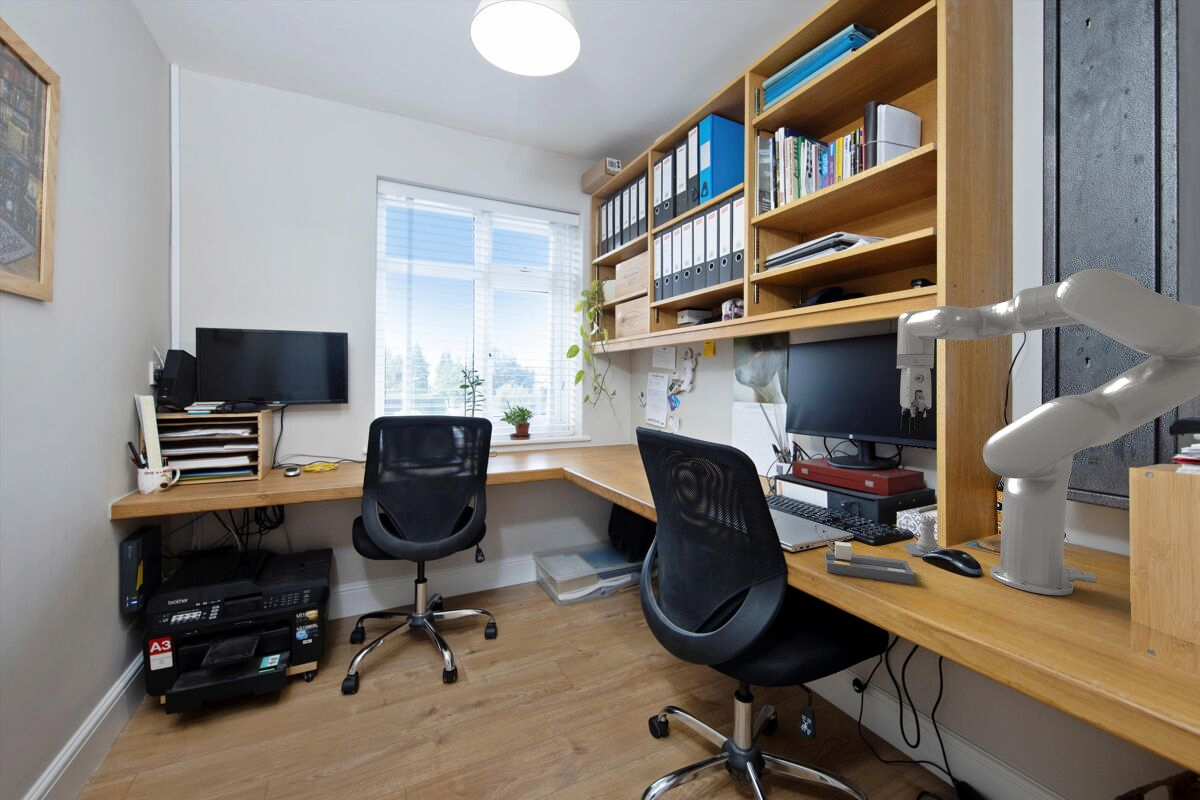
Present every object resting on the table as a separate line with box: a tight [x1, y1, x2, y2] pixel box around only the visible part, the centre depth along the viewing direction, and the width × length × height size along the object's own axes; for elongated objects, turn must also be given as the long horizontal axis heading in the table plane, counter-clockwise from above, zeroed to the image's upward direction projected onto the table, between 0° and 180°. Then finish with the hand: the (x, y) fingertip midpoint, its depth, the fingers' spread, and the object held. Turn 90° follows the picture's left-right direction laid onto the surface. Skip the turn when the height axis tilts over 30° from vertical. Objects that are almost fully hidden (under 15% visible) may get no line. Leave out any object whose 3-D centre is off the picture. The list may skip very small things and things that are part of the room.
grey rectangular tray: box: [824, 550, 916, 585], centre depth 103 cm, size 16×8×2 cm, turn 68°
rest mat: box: [904, 542, 945, 558], centre depth 114 cm, size 8×8×1 cm
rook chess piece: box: [916, 515, 939, 553], centre depth 114 cm, size 4×4×8 cm
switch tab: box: [834, 540, 853, 560], centre depth 105 cm, size 3×2×3 cm
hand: (912, 432), depth 118 cm, fingers open, 9 cm apart
